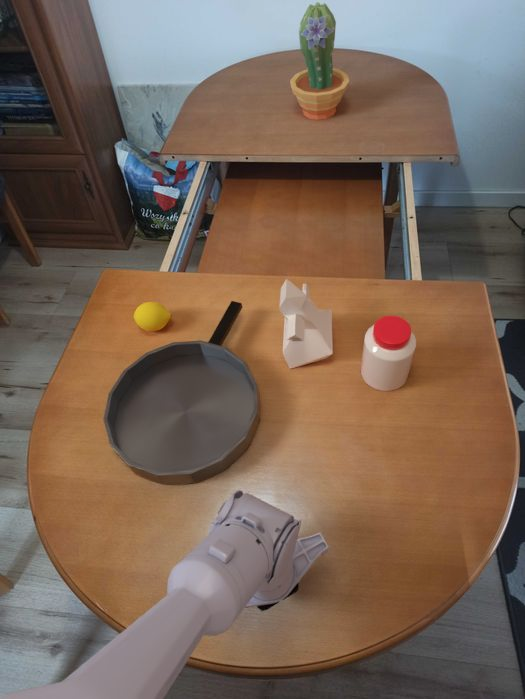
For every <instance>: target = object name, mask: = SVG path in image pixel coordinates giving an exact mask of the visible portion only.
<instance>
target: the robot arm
mask: <svg viewBox="0 0 525 699" xmlns="http://www.w3.org/2000/svg"><path fill="white" fill-rule="evenodd" d="M226 501H227V502H226ZM226 501H225V502H226V503H225V505H224V506H223V508H222V510H221V512H220V513H219V515H218V514H217V516H216V517H215V518H213V520H212V521H213V522H212V523H211V524H210V527H209V530H208V534H207V535H206V536H205V537H203V539H202V540H201V541H200V542H199V543H198V544H197V545H196V546H194V547H193V548H192V549H191V550H190V551H189V552H188V553H187V554H186V555H185V556H184V557H183V558H182V559H181V560H180V561H178V562H177V564H175V566H174V567H172V569H171V571H170V573H169V575H168V579H167V584H166V595H165V596H164V597H163V598H161V599H160V600H159V601H158V602H157V603H155V604H154V605H153V606H152V607H151V608H149V609H148V610H147V611H146V612H144V613H143V614H142V615H141V616H140V617H138V618H137V619H136V620H135V621H133V622H132V623H131V624H130V625H128V626H127V627H126V628H125V629H124V630H122V631H121V632H120V633H119V634H118V635H117V636H115V637H114V638H113V639H111V640H110V641H109V642H108V643H107V644H105V646H103V647H101V649H99V650H98V651H97V652H96V653H95V654H93V655H92V656H91V657H90V658H88V659H87V660H86V661H85V662H83V663H82V664H81V665H80V666H79V667H78V668H76V669H75V670H74V671H73V672H71V673H70V674H69V675H68V676H67V677H66V678H64V679H63V680H61V681H59V682H58V681H57V682H53V683H49V684H44V685H38V686H33V687H30V688H25V689H20V690H16V691H15V690H14V691H11V692H10V691H9V692H6V693H4V694H2V695H0V699H164V698H165V697H166V696H167V694H168V692H169V690H170V689H171V687H172V686H173V684H174V683H175V681H176V680H177V678H178V677H179V675H180V673H181V672H182V670H183V669H184V667H185V666H186V664H187V662H188V660H190V657H191V656H192V654H193V653H194V651H195V650H196V648H197V647H198V645H199V643H200V642H201V640H202V639H203V637H204V636H208V637H214V636H218V635H221V634H224V633H226V632H227V631H228V630H229V629H231V627H232V626H233V625H234V623H235V622H236V620H237V619H238V618H239V616H240V615H241V614H242V612H243V611H244V609H246V608H252V607H257V609H259V610H260V611H262V612H263V611H267V610H269V609H271V608H272V607H274V606H276V605H277V604H279V603H280V602H281V601H284V600H286V599H287V598H289V597H291V596H293V595H295V594H296V593H297V592H298V591H299V589H300V583H299V582H300V581H301V580H302V578H303V577H304V576H305V574H306V573H307V572H308V571H309V570H310V568H311V567H312V566H313V565H314V564H315V562H316V561H317V560H318V559H319V558H320V557H323V556H325V555H327V554H328V553H329V552H330V546H329V545H328V543H327V541H326V539H325V538H324V536H323V534H322V532H321V531H318V532H316V533H314V534H311V535H309V536H303V537H299V536H300V535H299V534H300V531H301V530H300V529H301V525H302V519H299V520H298V519H296V518H295V517H294V516H293V515H292V514H290V513H289V512H286V511H284V510H282V509H280V508H278V507H276V506H274V505H273V504H270V503H269V502H267V501H264V500H263V499H261V498H259V497H257V496H254V495H253V494H252V493H251V494H250V493H249V492H246V493H244V492H243V490H240V489H239V490H236V491H235V492H234V493H232V494H231V495H230V496H229V498H228V499H226Z"/></svg>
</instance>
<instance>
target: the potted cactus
mask: <svg viewBox="0 0 525 699" xmlns="http://www.w3.org/2000/svg"><path fill="white" fill-rule="evenodd" d="M299 24H300V26H299V29H298V36H299V37H298V38H299V48H300V51H301V53H302V56H303V58H304V61H305V66H306V69H304V70H301V71H299V72H297V73H295V74H294V75H293V77H292V78H291V79H290V80H289V83H290V87H291V92H292V94H293V95H294V96H295V97H296V101H297V103H298V105H299V106H300V107H301V109H302V114H303V116H304V117H306V118H308V119H309V120H315V121H316V120H317V121H321V120H327V119H329V118H331V117H333V116H334V115H335V113H336V112H337V108H336V107H337V106H338V104H339V103H340V102H341V100H343V97H344V93H345V92H346V91H347V89H348V88H349V85H350V81H351V80H350V78H349V75H348V73H347V72H344V71H342V70H340V69H338V68H336V67H335V68H334V67H333V51H334V49H335V39H336V27H337V26H336V25H337V21H336V18H335V15H334V13H333V12H332V11H331V9H330V8H329V6H328V5H327V4H326V3H325V2H324V3H323V4H321V3H320V2H319V1H318V2H315V4H312V3H311V4H308V7H307V9H306V10H305V12H304V15H302V18H301V20H300V23H299Z"/></svg>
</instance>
